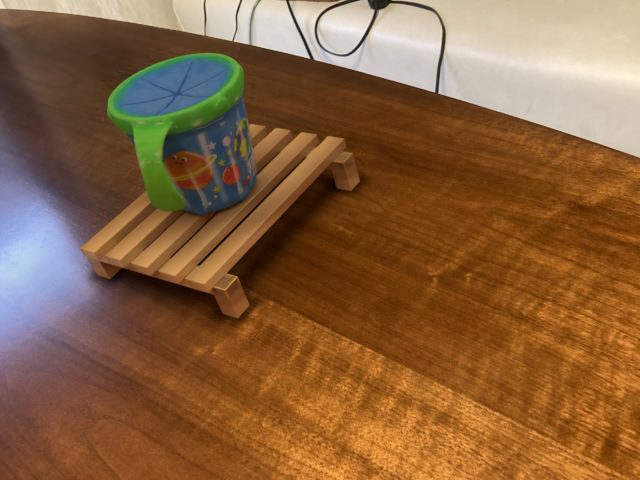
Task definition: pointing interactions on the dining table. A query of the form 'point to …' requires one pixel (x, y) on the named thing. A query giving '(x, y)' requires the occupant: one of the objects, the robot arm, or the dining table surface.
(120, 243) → the rack
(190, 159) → the snack cup
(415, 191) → the dining table surface
